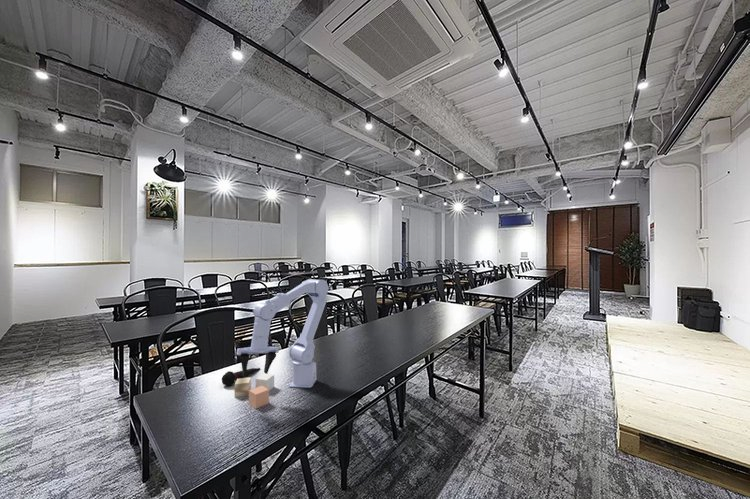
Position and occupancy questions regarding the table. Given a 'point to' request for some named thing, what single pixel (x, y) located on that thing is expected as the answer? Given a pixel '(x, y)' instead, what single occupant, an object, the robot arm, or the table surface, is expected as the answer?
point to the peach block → (258, 396)
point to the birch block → (242, 387)
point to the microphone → (236, 376)
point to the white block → (265, 381)
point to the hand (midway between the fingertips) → (255, 373)
